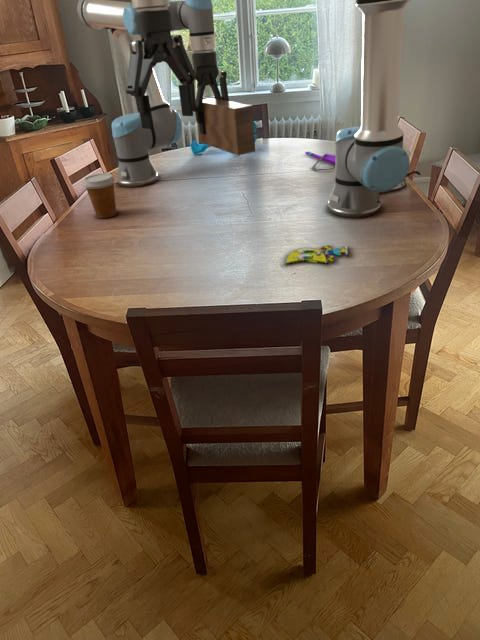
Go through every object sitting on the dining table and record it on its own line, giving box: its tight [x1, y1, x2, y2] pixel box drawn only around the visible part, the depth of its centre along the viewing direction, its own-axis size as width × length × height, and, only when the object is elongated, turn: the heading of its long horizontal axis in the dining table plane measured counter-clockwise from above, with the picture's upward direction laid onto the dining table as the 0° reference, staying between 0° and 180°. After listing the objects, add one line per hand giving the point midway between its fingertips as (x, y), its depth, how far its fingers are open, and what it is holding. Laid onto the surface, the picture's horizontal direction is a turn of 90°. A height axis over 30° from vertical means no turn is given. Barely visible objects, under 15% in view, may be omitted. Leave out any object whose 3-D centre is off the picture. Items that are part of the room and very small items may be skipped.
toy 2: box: [285, 244, 349, 266], centre depth 118 cm, size 10×1×15 cm
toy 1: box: [189, 120, 258, 155], centre depth 209 cm, size 17×11×30 cm
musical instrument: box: [304, 151, 336, 171], centre depth 185 cm, size 24×2×20 cm
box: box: [195, 97, 256, 156], centre depth 150 cm, size 25×6×13 cm, turn 31°
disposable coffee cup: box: [83, 172, 117, 219], centre depth 152 cm, size 10×10×12 cm
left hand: (212, 131), depth 158 cm, fingers closed on box, 6 cm apart
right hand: (168, 121), depth 108 cm, fingers open, 13 cm apart
